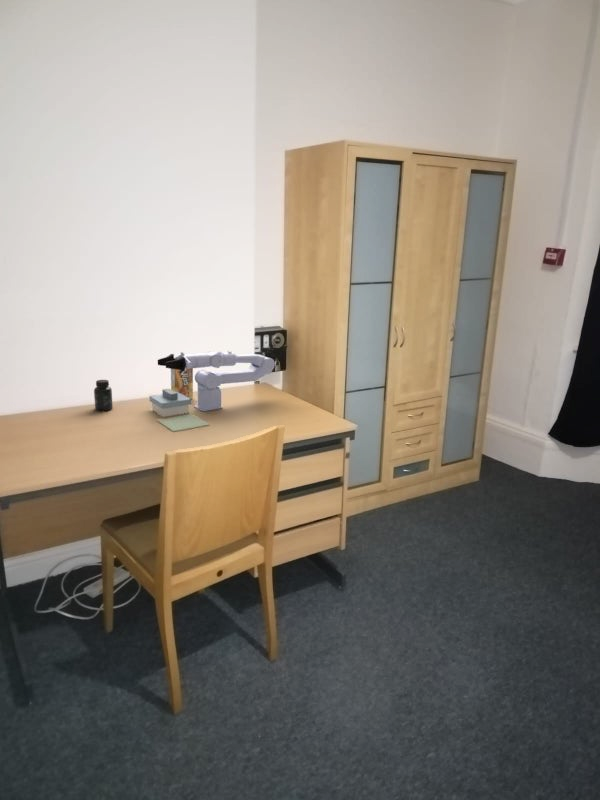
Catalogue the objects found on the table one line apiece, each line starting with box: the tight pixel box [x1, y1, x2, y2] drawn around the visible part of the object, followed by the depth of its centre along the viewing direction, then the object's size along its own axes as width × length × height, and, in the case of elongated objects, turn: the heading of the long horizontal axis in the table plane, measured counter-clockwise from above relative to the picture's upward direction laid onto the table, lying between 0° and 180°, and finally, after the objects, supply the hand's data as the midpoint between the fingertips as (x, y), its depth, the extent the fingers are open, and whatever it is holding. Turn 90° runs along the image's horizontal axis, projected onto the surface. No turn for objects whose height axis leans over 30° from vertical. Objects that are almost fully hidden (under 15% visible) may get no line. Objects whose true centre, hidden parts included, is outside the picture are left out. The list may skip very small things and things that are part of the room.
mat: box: [156, 413, 210, 433], centre depth 221 cm, size 15×15×1 cm
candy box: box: [170, 368, 194, 400], centre depth 250 cm, size 9×4×15 cm, turn 129°
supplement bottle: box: [93, 379, 114, 412], centre depth 232 cm, size 7×7×12 cm
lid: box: [149, 388, 192, 409], centre depth 232 cm, size 12×12×5 cm
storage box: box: [151, 402, 190, 418], centre depth 233 cm, size 11×11×5 cm
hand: (161, 363), depth 223 cm, fingers open, 7 cm apart
